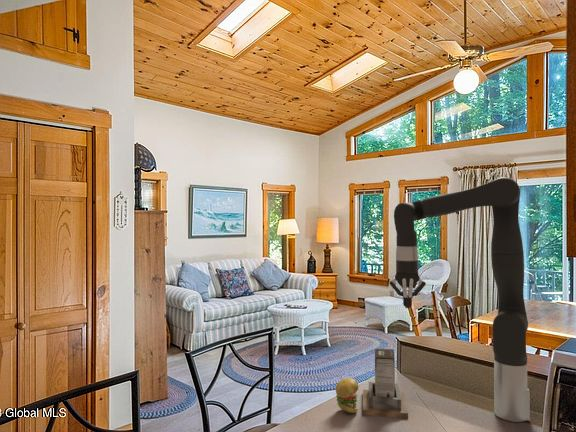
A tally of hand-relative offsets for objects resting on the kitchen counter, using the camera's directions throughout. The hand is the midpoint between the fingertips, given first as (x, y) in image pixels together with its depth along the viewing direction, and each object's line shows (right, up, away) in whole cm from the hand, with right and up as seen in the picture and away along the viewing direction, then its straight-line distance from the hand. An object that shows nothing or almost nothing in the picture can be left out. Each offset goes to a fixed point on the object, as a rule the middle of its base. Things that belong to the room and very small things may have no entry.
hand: (407, 307), depth 152 cm
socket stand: (-10, -31, -9) cm, 34 cm away
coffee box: (-10, -30, -9) cm, 32 cm away
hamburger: (-23, -31, -13) cm, 41 cm away
